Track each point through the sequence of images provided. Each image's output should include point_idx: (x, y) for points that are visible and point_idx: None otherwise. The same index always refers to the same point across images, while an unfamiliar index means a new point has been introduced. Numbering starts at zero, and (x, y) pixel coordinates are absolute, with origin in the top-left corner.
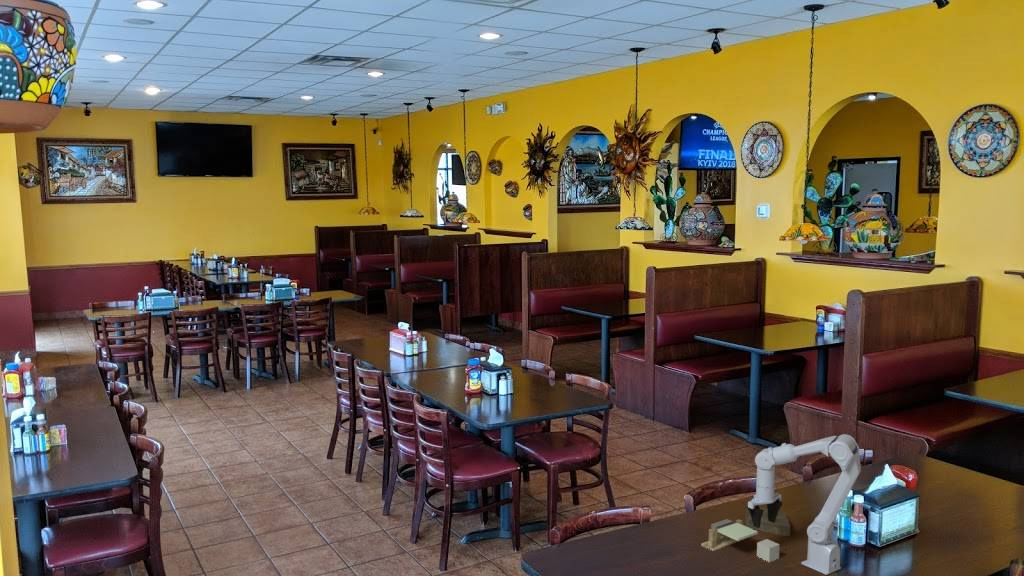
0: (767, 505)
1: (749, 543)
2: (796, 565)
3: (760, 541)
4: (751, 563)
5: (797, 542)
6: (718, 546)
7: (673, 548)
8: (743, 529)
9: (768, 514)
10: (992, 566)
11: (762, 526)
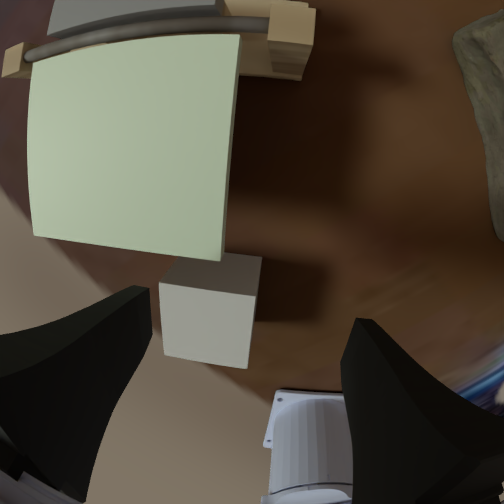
0: (418, 425)
1: (297, 129)
2: (254, 382)
3: (189, 287)
4: (117, 266)
5: (463, 289)
6: None
7: (14, 12)
8: (157, 159)
9: (376, 355)
10: None
11: (493, 109)
